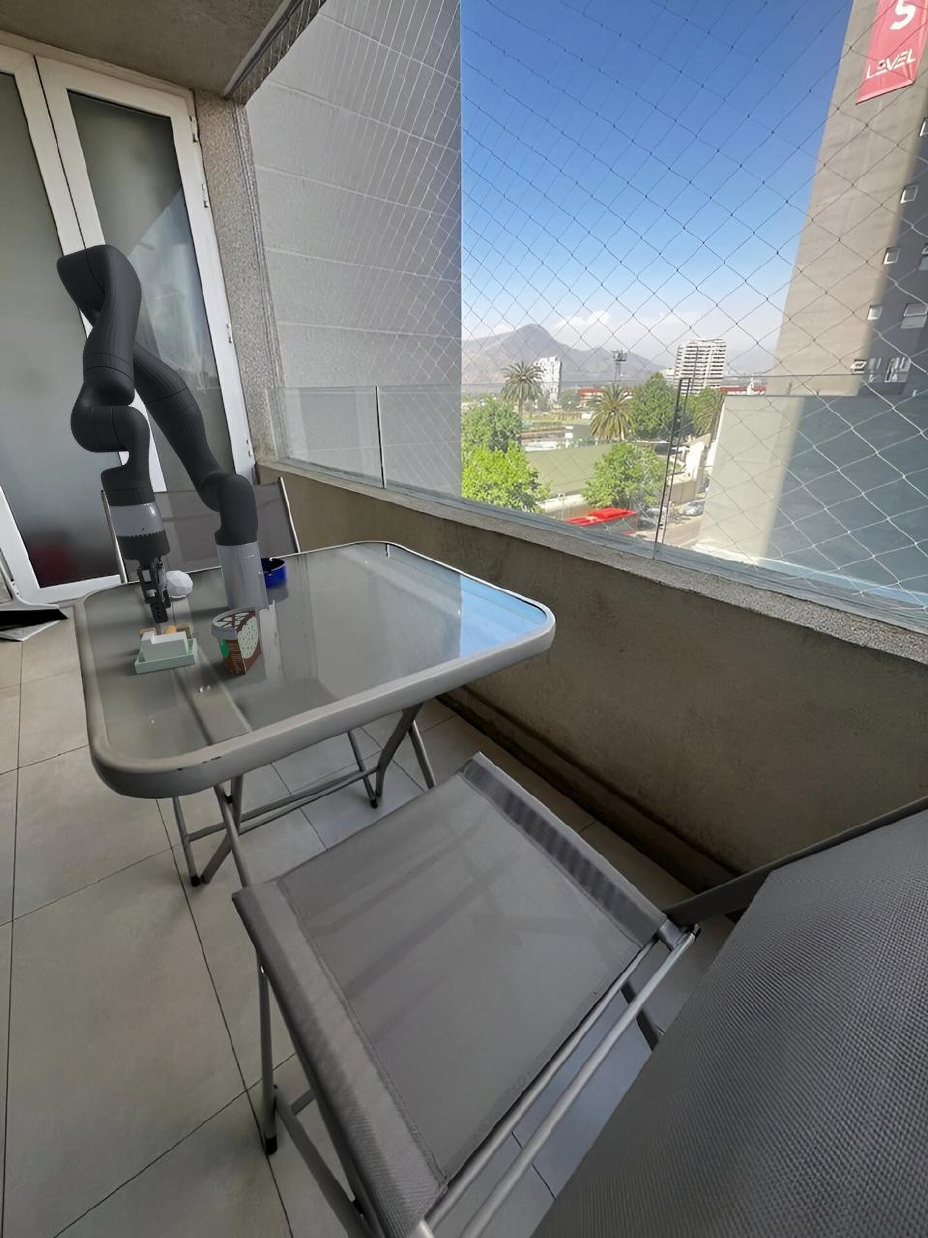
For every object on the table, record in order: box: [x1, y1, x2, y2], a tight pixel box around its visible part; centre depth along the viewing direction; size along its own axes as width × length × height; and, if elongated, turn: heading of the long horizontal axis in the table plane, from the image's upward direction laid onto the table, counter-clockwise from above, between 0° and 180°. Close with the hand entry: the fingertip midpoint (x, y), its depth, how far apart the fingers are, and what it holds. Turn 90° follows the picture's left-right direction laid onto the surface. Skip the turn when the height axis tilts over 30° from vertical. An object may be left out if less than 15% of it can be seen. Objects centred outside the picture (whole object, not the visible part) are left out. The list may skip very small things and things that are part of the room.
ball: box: [165, 570, 194, 596], centre depth 132 cm, size 8×8×8 cm
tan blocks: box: [139, 621, 194, 640], centre depth 101 cm, size 9×3×4 cm, turn 115°
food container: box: [210, 606, 263, 675], centre depth 91 cm, size 12×6×10 cm, turn 5°
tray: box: [134, 638, 199, 675], centre depth 95 cm, size 10×9×2 cm
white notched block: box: [140, 631, 189, 662], centre depth 94 cm, size 7×4×5 cm, turn 115°
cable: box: [163, 625, 176, 634], centre depth 103 cm, size 2×9×2 cm, turn 25°
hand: (163, 615), depth 92 cm, fingers open, 8 cm apart
